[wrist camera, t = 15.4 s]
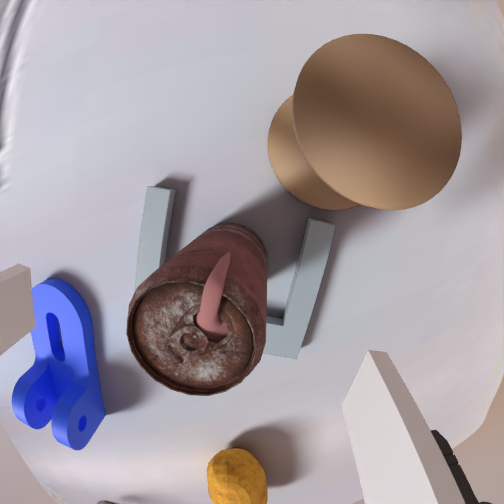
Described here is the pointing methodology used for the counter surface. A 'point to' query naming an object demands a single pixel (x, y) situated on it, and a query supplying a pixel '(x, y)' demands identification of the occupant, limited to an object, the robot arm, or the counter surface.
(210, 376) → the can
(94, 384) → the bracket
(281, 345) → the grey u-shaped frame
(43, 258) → the counter surface
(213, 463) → the potato
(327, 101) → the bobbin
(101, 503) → the coffeepot
